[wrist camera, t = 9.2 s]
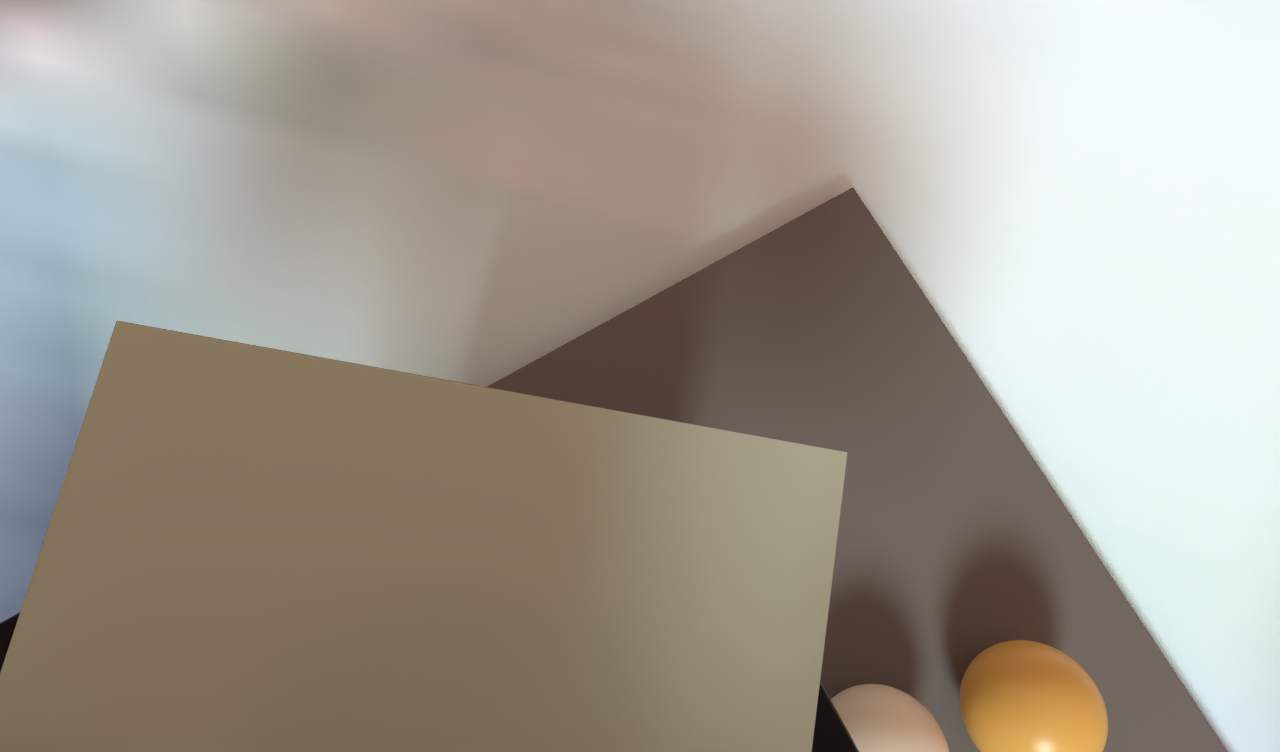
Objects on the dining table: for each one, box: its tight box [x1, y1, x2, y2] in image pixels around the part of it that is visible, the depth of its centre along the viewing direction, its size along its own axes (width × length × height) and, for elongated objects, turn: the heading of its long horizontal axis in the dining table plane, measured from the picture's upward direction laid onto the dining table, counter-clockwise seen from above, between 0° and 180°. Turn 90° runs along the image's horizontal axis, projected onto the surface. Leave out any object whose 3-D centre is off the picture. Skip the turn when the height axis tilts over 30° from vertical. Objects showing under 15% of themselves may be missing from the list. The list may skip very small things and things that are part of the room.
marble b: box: [959, 640, 1108, 752], centre depth 17 cm, size 3×3×3 cm
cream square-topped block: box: [0, 321, 848, 752], centre depth 11 cm, size 7×7×10 cm
